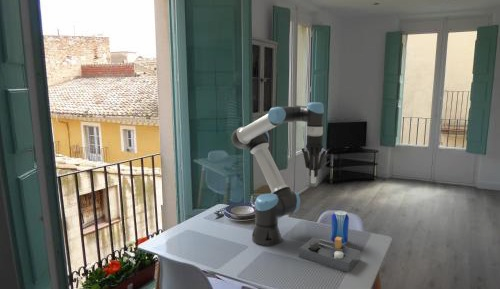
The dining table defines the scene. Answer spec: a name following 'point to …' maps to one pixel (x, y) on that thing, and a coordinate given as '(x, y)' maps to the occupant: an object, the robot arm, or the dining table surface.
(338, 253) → the white button
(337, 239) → the toggle knob
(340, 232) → the beer can
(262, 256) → the dining table surface
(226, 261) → the dining table surface
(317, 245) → the black button
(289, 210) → the robot arm
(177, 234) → the dining table surface
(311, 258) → the panel
